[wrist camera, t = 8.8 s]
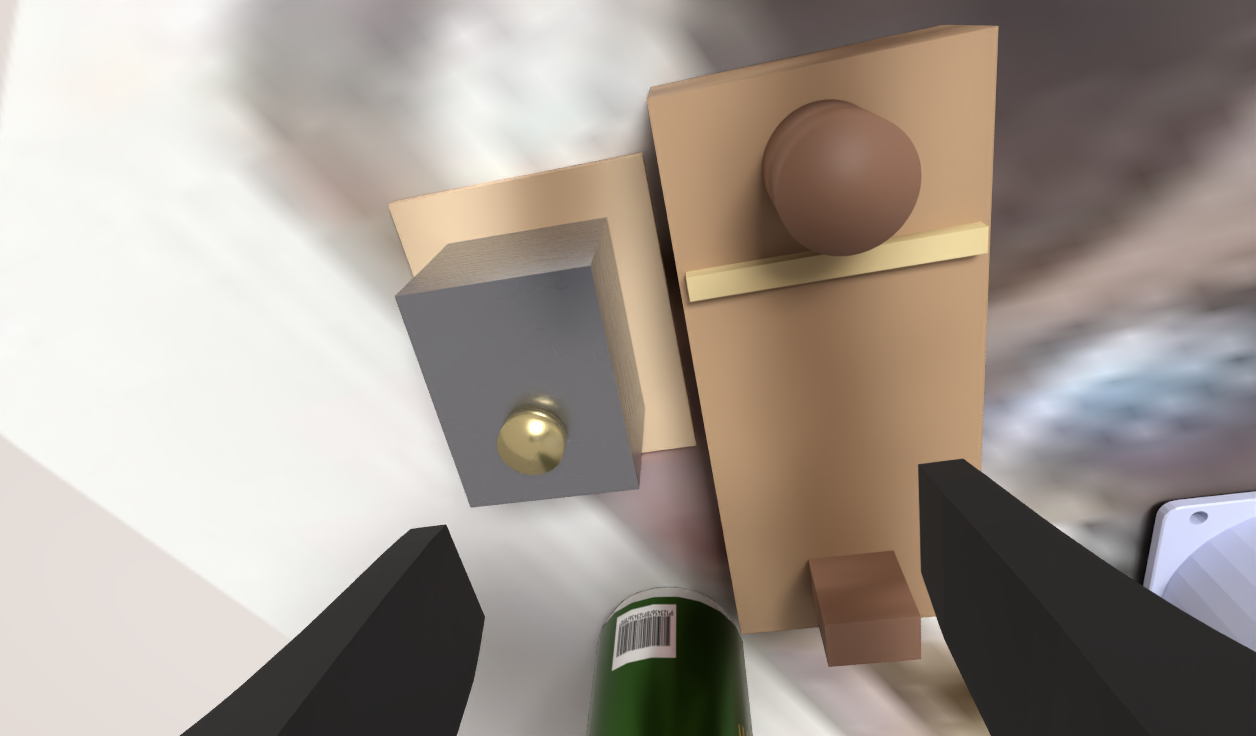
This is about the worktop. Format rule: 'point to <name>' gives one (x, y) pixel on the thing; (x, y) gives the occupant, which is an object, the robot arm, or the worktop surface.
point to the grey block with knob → (530, 363)
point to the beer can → (669, 669)
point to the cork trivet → (636, 245)
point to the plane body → (834, 314)
